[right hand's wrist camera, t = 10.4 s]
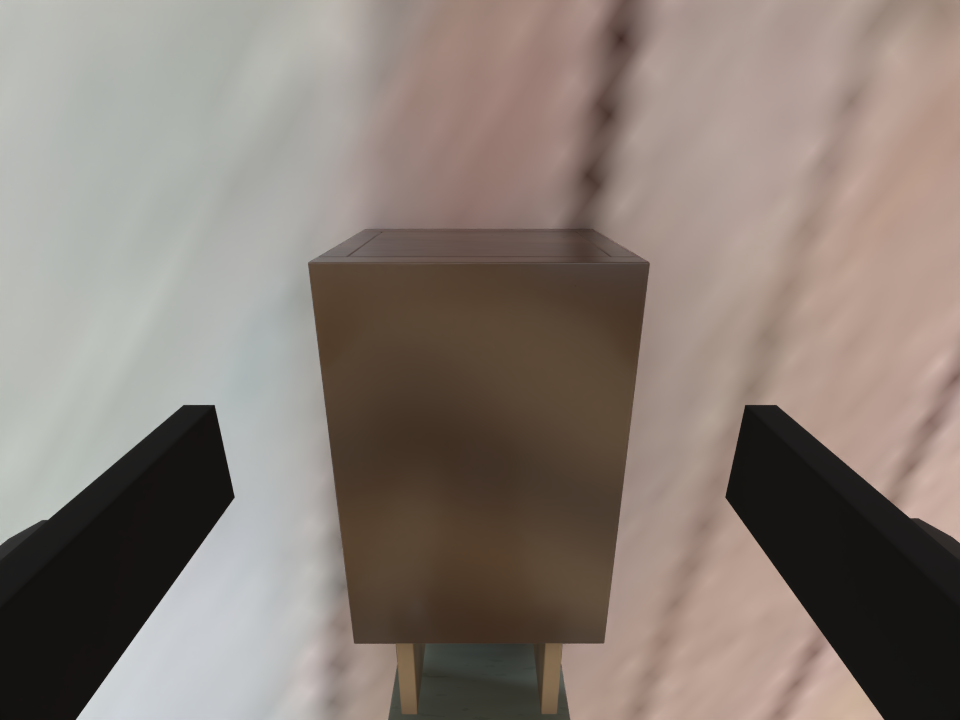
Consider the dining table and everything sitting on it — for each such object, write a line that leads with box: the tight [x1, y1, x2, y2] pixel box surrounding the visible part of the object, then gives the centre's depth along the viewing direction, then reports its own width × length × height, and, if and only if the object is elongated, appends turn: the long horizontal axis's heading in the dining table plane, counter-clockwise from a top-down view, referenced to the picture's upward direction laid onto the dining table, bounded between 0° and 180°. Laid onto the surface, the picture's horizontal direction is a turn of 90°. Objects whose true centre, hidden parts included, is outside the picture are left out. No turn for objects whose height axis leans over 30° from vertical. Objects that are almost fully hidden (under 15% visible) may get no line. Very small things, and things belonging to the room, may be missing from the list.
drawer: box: [388, 643, 570, 720], centre depth 27 cm, size 20×9×6 cm, turn 0°
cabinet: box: [308, 229, 650, 644], centre depth 22 cm, size 16×10×8 cm, turn 0°
